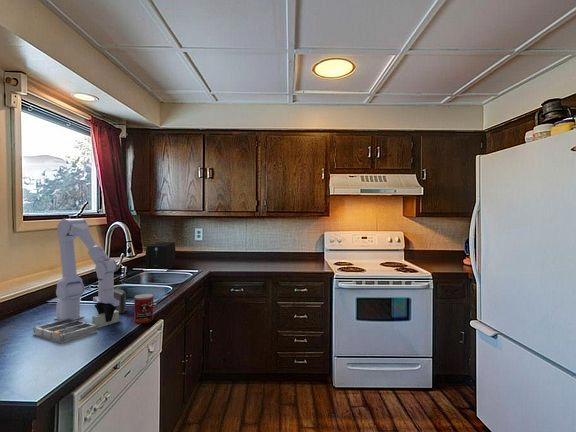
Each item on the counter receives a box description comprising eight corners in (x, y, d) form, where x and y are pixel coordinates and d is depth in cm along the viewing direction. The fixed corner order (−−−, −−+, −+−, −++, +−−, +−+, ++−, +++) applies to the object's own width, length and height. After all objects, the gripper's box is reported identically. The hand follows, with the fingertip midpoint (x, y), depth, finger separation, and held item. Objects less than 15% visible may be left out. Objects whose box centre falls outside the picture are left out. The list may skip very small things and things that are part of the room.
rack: (33, 334, 137) (33, 325, 137) (69, 324, 149) (69, 316, 149) (61, 343, 129) (61, 334, 129) (96, 332, 141) (96, 323, 141)
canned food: (134, 324, 151) (134, 298, 151) (134, 319, 158) (134, 294, 158) (153, 322, 154) (153, 297, 154) (152, 317, 161) (152, 292, 161)
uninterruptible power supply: (144, 272, 274) (144, 246, 273) (156, 265, 307) (156, 242, 307) (166, 272, 275) (167, 246, 275) (176, 265, 309) (176, 242, 308)
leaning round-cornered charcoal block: (130, 312, 168) (130, 292, 168) (120, 314, 165) (120, 294, 164) (116, 305, 179) (116, 287, 179) (107, 307, 176) (107, 288, 175)
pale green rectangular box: (92, 326, 147) (92, 316, 147) (113, 320, 156) (114, 310, 156) (97, 328, 146) (97, 317, 146) (118, 321, 155) (118, 311, 155)
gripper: (86, 288, 151) (86, 320, 151) (108, 292, 144) (108, 326, 144) (101, 285, 157) (101, 316, 157) (123, 289, 150) (123, 321, 150)
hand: (105, 320), depth 151 cm, fingers closed on pale green rectangular box, 3 cm apart
